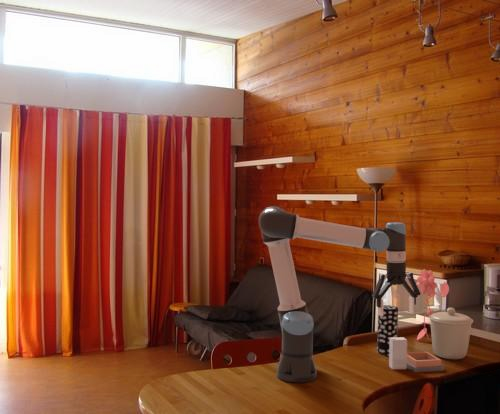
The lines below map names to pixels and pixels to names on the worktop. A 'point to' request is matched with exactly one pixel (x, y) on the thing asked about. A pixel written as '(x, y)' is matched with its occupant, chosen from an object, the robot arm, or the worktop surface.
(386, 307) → the white-spotted black cylinder
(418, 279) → the pink flower
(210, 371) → the worktop surface
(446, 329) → the canister
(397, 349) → the skincare box
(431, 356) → the pink square tray
